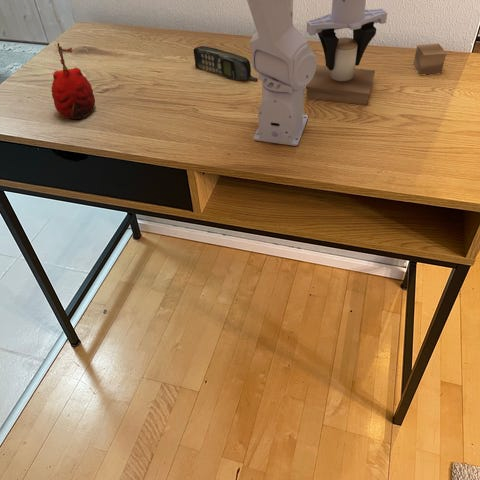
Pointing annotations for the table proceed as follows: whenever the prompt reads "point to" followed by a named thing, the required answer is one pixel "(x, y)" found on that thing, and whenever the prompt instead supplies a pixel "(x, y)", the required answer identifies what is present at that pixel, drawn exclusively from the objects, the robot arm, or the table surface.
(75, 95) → the red bumpy rounded piece
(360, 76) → the wooden brick
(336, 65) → the stoneware jar
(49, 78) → the table surface
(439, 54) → the walnut block
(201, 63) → the mobile phone
